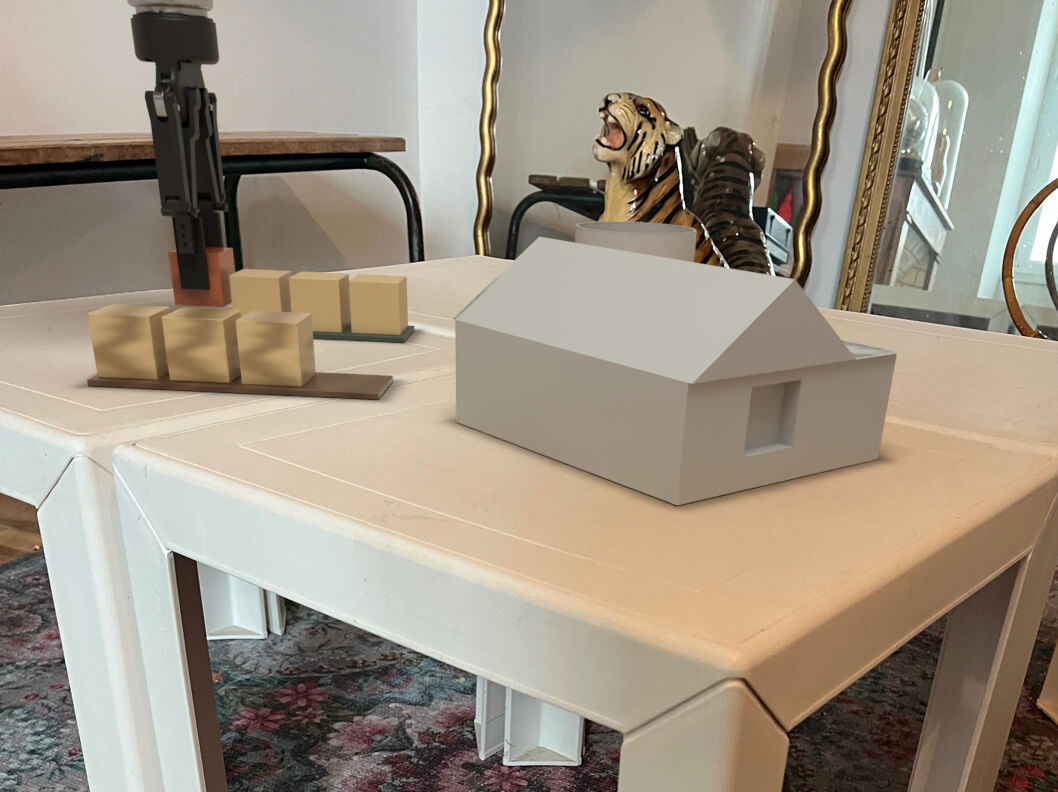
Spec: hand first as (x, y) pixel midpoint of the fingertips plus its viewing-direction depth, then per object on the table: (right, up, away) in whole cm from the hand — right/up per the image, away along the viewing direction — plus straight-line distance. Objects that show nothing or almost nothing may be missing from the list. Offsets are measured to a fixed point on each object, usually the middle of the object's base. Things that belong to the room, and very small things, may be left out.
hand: (204, 284), depth 115 cm
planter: (+44, -2, +9) cm, 45 cm away
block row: (+9, -4, +2) cm, 10 cm away
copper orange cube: (0, -1, +1) cm, 2 cm away
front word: (+10, -17, -20) cm, 28 cm away
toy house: (+44, -25, -31) cm, 59 cm away
